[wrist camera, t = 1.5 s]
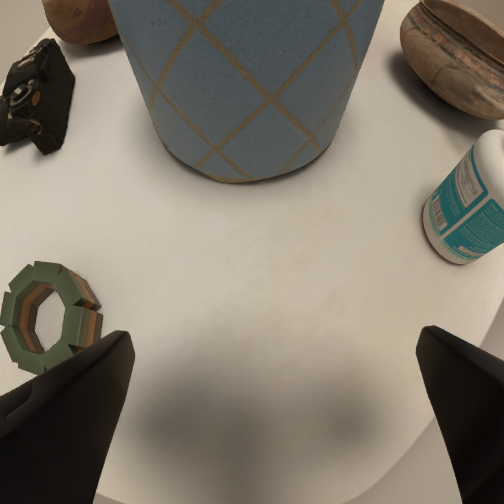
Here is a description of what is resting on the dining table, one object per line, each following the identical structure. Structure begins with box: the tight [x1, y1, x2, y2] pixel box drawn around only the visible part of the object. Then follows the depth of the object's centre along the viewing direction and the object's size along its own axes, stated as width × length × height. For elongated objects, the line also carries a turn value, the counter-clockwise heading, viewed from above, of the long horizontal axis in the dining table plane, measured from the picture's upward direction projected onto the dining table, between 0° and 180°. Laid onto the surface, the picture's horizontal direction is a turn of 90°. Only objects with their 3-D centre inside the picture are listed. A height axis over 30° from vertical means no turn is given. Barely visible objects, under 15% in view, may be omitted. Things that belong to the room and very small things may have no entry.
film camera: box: [0, 38, 75, 155], centre depth 25 cm, size 18×12×10 cm
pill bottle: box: [423, 129, 504, 264], centre depth 18 cm, size 8×7×14 cm
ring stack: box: [0, 261, 103, 375], centre depth 20 cm, size 9×9×3 cm
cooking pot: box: [400, 0, 504, 120], centre depth 27 cm, size 25×19×12 cm
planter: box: [108, 0, 384, 183], centre depth 20 cm, size 19×19×20 cm
